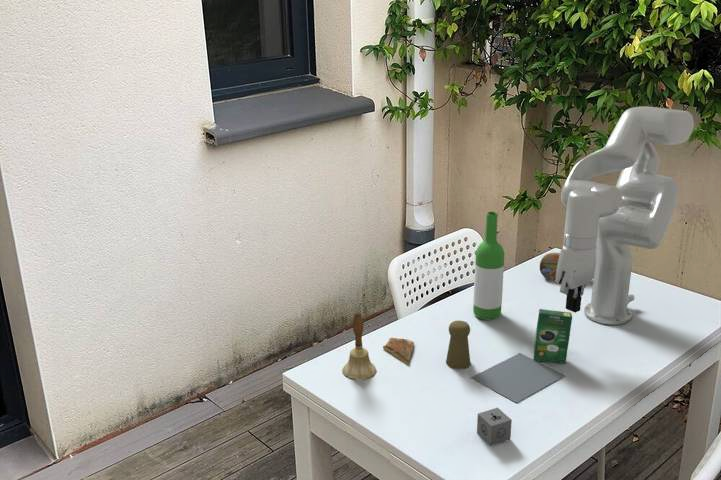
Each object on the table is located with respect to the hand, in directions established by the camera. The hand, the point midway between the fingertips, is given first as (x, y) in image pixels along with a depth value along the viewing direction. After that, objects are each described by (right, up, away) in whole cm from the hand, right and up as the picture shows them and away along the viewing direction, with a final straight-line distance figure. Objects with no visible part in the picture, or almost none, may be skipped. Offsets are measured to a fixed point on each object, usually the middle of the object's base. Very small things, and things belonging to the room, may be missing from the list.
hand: (572, 309), depth 189 cm
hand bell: (-53, -15, -3) cm, 55 cm away
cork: (-29, -13, -1) cm, 31 cm away
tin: (+10, +5, +45) cm, 47 cm away
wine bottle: (-17, -4, +24) cm, 29 cm away
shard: (-41, -12, +6) cm, 43 cm away
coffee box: (-6, -13, 0) cm, 14 cm away
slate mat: (-15, -15, -7) cm, 23 cm away
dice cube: (-25, -24, -29) cm, 45 cm away
